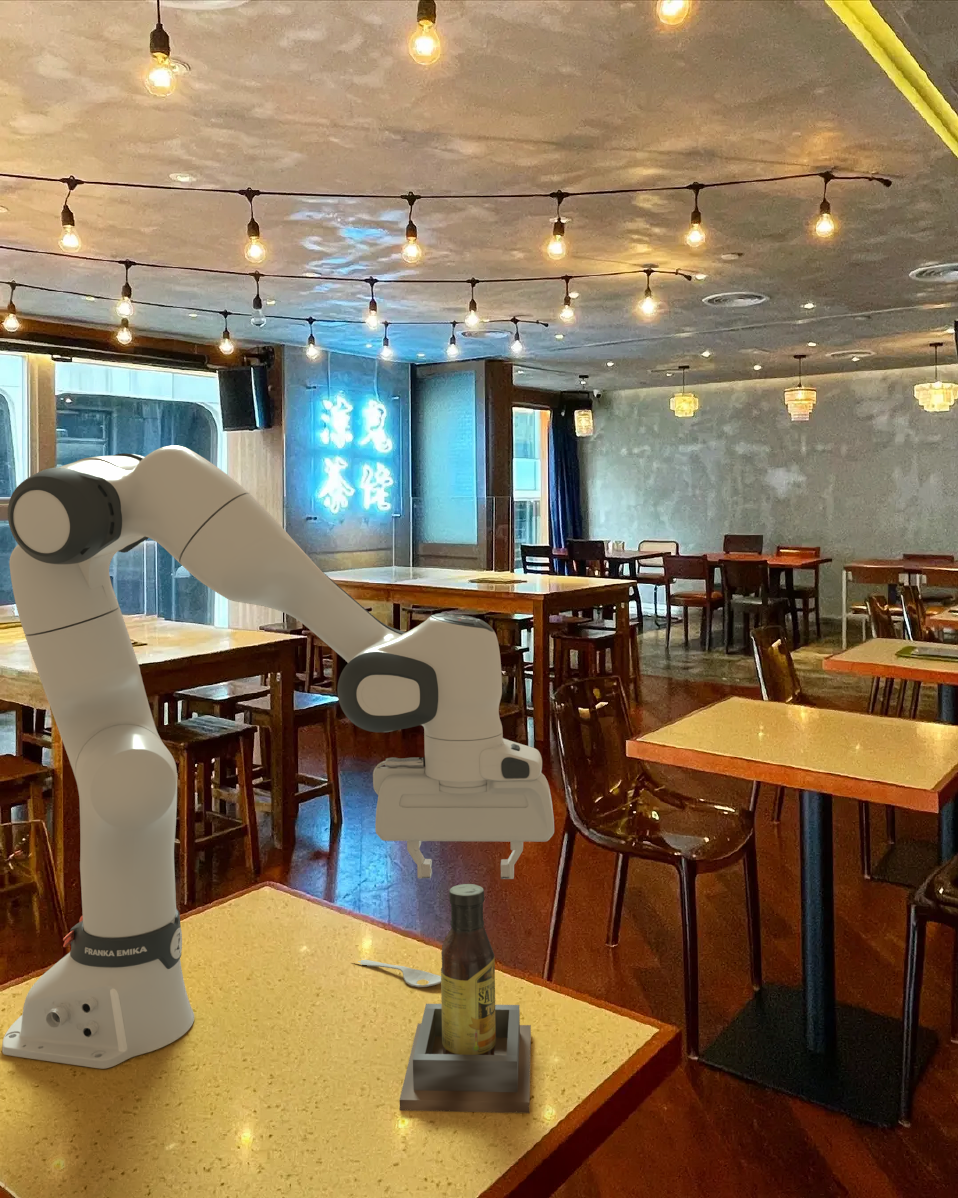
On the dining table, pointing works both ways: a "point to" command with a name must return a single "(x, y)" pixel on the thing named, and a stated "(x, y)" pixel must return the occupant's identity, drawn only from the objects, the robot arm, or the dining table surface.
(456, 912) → the sauce bottle
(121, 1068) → the dining table surface
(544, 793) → the robot arm
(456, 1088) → the box
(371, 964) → the spoon
